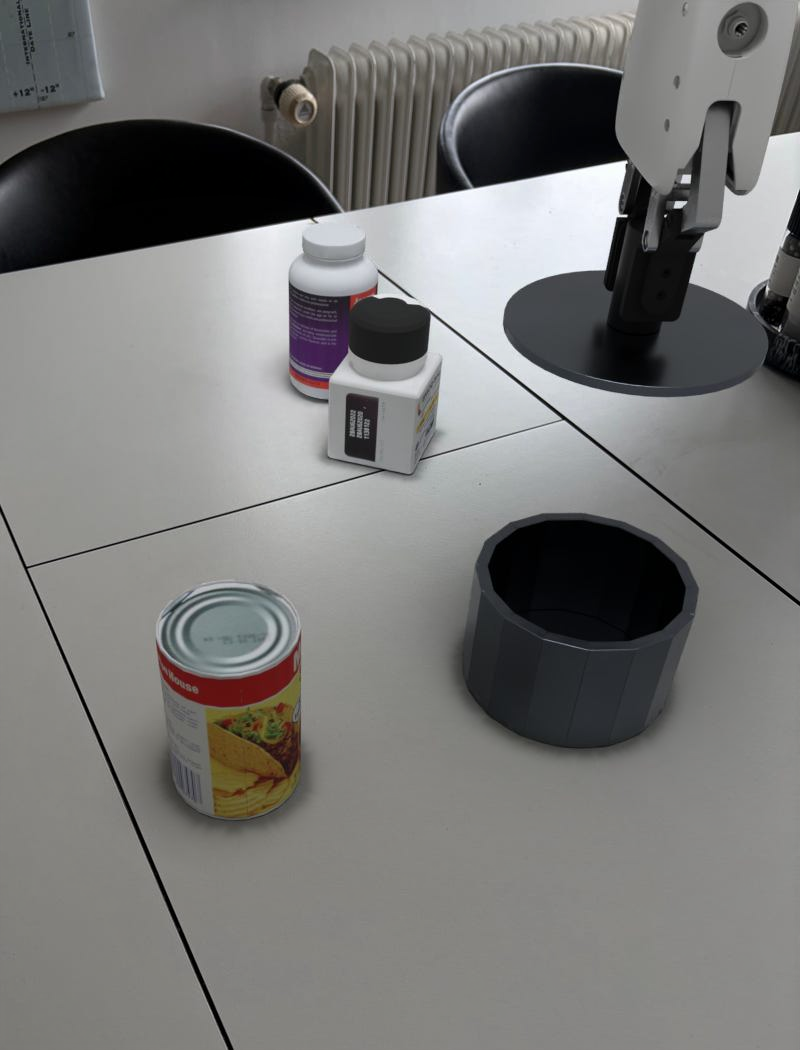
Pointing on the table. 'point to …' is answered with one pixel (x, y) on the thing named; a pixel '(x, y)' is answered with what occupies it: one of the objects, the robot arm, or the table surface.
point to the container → (385, 386)
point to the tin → (576, 627)
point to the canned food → (232, 696)
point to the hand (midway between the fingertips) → (640, 301)
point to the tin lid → (633, 335)
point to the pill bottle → (325, 301)
